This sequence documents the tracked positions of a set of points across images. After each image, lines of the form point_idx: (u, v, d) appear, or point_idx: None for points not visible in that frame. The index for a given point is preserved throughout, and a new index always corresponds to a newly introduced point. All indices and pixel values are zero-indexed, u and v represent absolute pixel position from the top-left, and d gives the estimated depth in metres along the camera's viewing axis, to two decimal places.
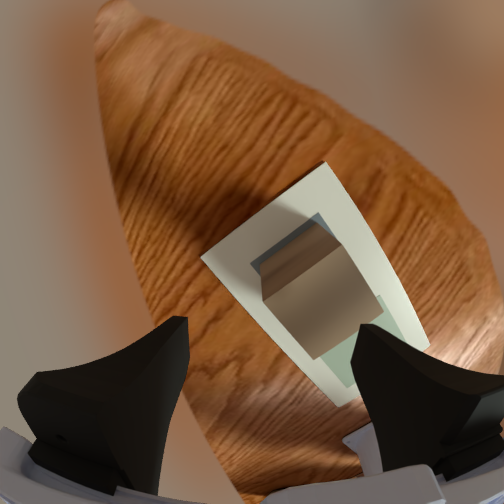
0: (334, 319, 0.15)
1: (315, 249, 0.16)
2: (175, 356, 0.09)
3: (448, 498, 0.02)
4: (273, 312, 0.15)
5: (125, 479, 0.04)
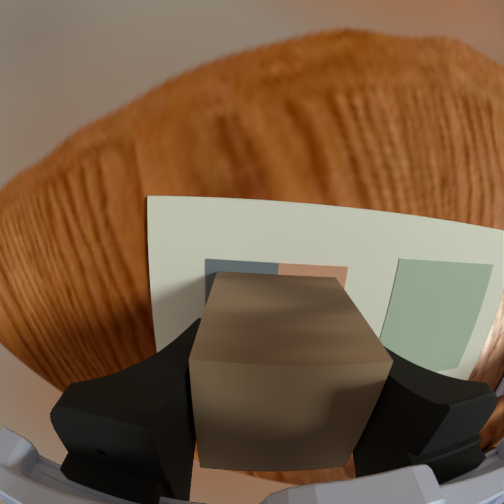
0: (313, 432, 0.07)
1: None
2: None
3: (448, 498, 0.02)
4: (225, 468, 0.08)
5: (167, 489, 0.05)
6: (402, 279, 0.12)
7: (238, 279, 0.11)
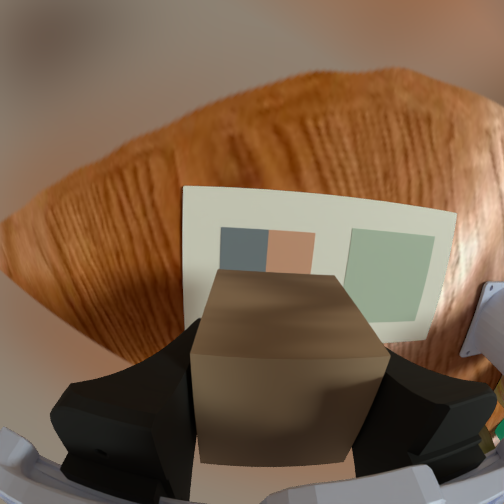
0: (313, 426, 0.07)
1: None
2: None
3: (448, 498, 0.02)
4: (225, 464, 0.08)
5: (167, 489, 0.05)
6: (356, 243, 0.18)
7: (238, 276, 0.11)
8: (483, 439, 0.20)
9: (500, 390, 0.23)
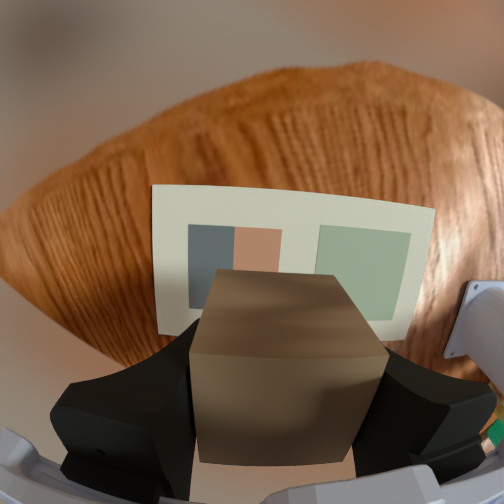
0: (311, 426, 0.07)
1: None
2: None
3: (448, 498, 0.02)
4: (224, 463, 0.08)
5: (167, 489, 0.05)
6: (325, 240, 0.19)
7: (237, 276, 0.11)
8: None
9: None
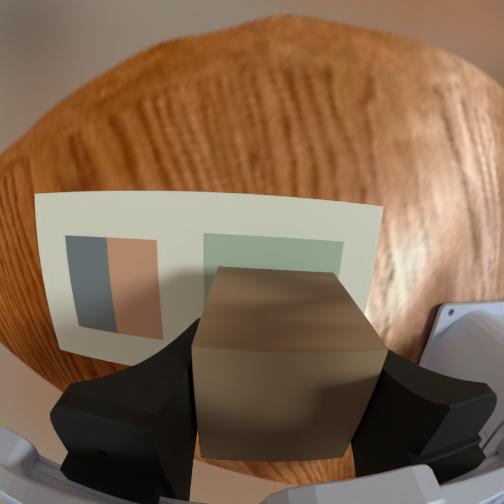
0: (312, 420, 0.07)
1: None
2: None
3: (448, 498, 0.02)
4: (225, 458, 0.08)
5: (167, 489, 0.05)
6: (212, 253, 0.14)
7: (238, 273, 0.12)
8: None
9: None
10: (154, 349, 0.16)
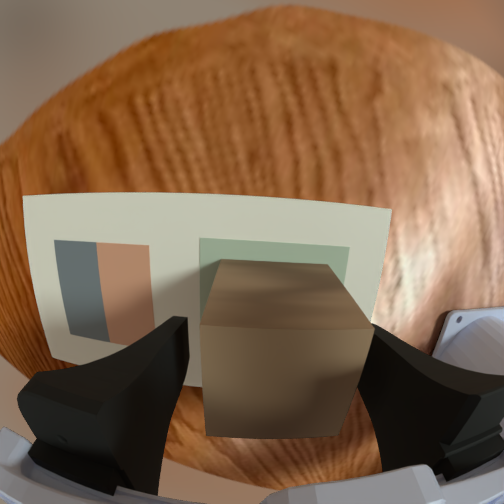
0: (308, 396, 0.08)
1: None
2: (175, 356, 0.09)
3: (448, 498, 0.02)
4: (229, 436, 0.09)
5: (125, 479, 0.04)
6: (208, 259, 0.13)
7: (240, 265, 0.13)
8: None
9: None
10: None
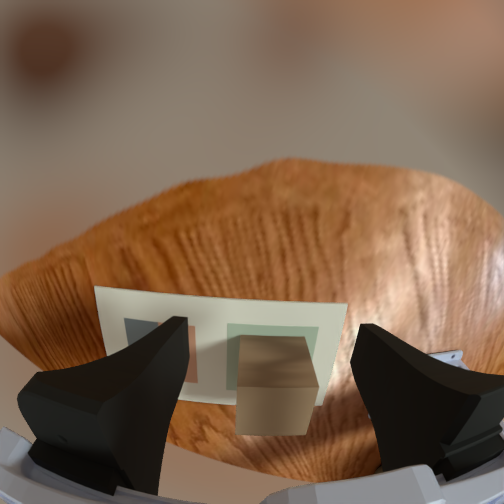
0: (287, 415, 0.17)
1: None
2: (175, 356, 0.09)
3: (448, 498, 0.02)
4: (247, 434, 0.17)
5: (125, 479, 0.04)
6: (232, 334, 0.22)
7: (252, 340, 0.21)
8: None
9: None
10: (191, 389, 0.23)
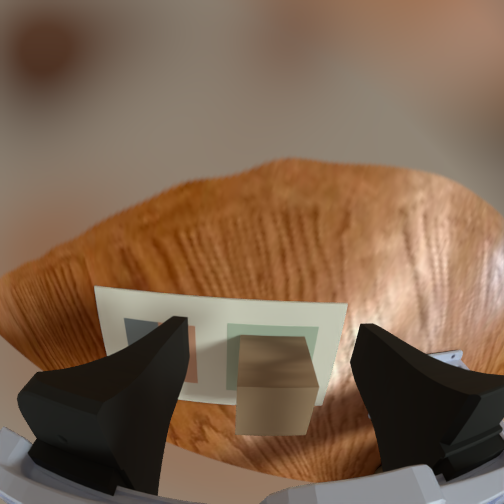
0: (287, 415, 0.17)
1: None
2: (175, 356, 0.09)
3: (448, 498, 0.02)
4: (247, 434, 0.17)
5: (125, 479, 0.04)
6: (232, 334, 0.22)
7: (252, 340, 0.21)
8: None
9: None
10: (191, 389, 0.23)
